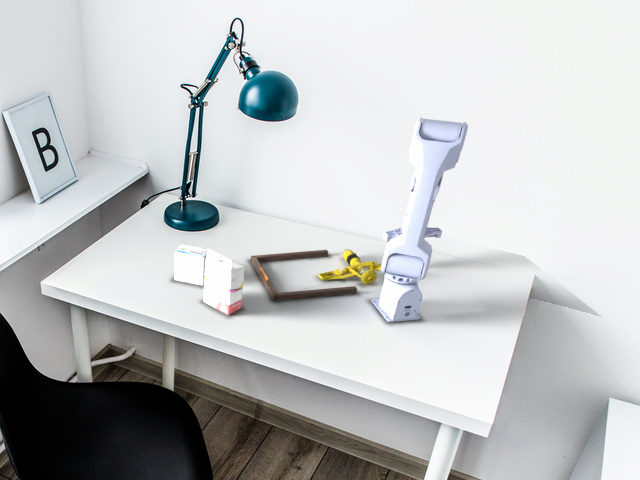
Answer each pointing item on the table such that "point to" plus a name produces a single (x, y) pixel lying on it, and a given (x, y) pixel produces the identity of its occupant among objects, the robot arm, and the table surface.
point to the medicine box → (190, 264)
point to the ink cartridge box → (223, 283)
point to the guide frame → (296, 294)
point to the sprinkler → (354, 269)
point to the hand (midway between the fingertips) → (405, 263)
